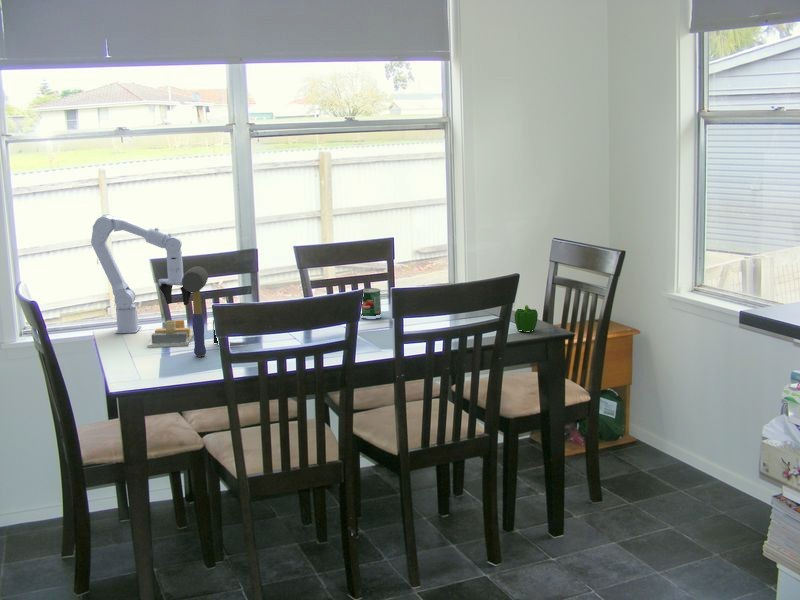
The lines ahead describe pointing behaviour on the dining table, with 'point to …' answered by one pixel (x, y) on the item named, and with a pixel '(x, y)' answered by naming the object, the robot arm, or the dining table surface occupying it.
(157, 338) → the gray rectangular tray
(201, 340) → the rubber mallet
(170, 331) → the brass block
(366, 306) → the canned tomato
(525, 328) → the bell pepper
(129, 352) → the dining table surface
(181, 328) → the sliding jaw
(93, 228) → the robot arm
